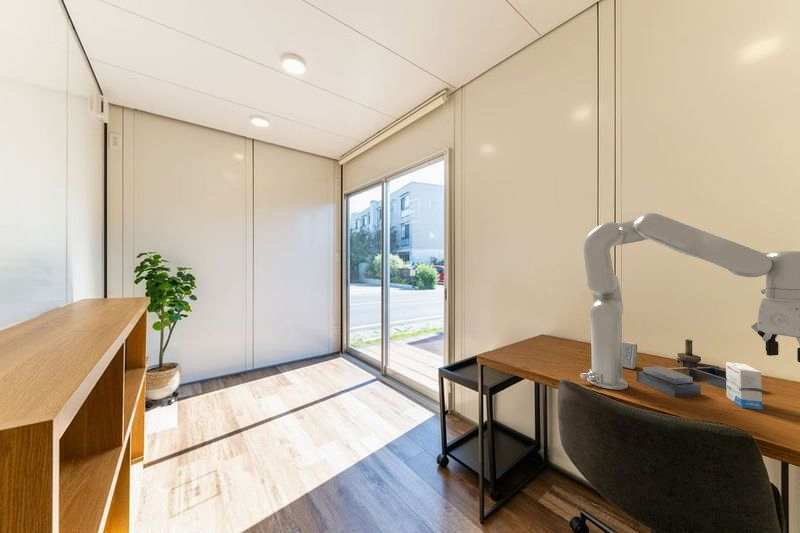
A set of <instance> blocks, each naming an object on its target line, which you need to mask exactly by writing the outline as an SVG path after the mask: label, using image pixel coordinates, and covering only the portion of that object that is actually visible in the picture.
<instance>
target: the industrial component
mask: <svg viewBox="0 0 800 533" xmlns="http://www.w3.org/2000/svg"><path fill="white" fill-rule="evenodd" d="M684 341H685V342H684V343H685V348H684V350H685V351H684V352H678V353H677V354H676V355H677V357H676V360H678V361H679V363H680V364H679V365H680V367H688V368H697V367H698V366H699V365H698V364H699V363H700V362H701V361H702V357H701V356H699V355H697V354H694V353H693V339H688V338H687V339H685V340H684Z"/></svg>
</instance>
